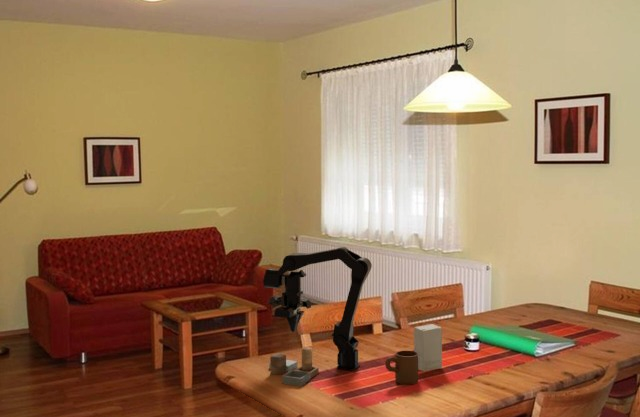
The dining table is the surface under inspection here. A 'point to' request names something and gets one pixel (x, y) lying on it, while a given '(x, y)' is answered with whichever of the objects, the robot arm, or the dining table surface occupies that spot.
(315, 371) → the socket block
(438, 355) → the skincare box
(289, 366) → the pale grey box
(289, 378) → the tray
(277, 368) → the block
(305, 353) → the dowel
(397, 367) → the mug
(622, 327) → the dining table surface
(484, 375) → the dining table surface
